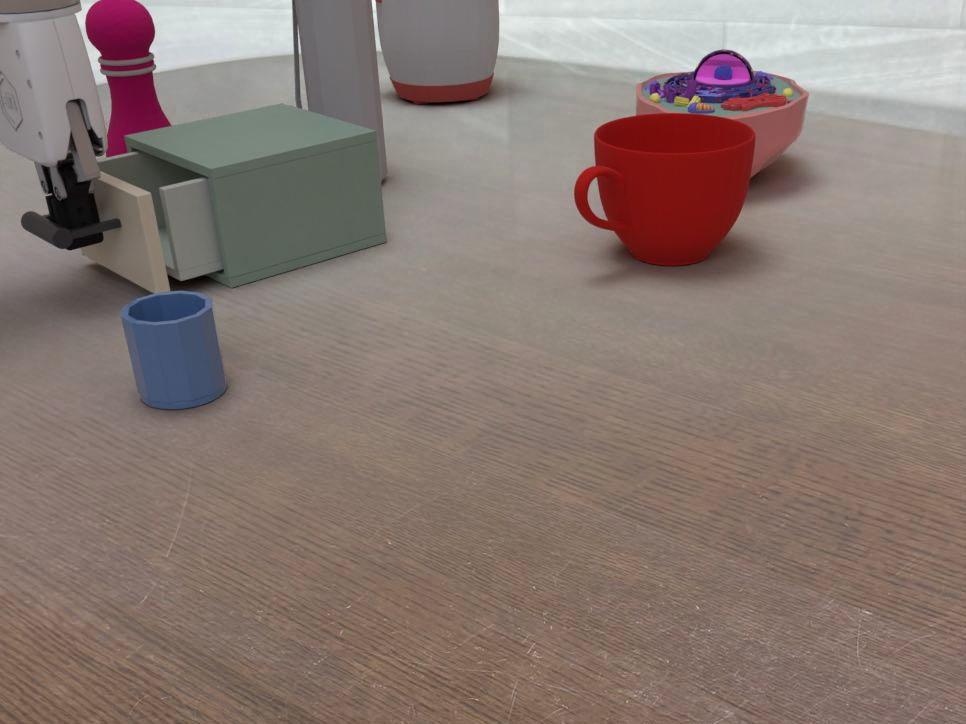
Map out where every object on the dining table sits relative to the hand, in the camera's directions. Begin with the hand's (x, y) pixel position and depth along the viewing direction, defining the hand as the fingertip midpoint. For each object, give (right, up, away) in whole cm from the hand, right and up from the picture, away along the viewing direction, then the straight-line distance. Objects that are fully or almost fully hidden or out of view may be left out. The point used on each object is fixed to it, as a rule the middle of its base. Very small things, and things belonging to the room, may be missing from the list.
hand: (81, 243), depth 95 cm
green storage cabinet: (+12, +3, +11) cm, 17 cm away
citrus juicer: (+23, +33, +59) cm, 71 cm away
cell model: (+54, +13, +26) cm, 61 cm away
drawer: (+5, 0, +6) cm, 8 cm away
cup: (+12, -13, -14) cm, 23 cm away
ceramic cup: (+46, 0, +6) cm, 46 cm away
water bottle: (+16, +13, +27) cm, 34 cm away
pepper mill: (-1, +10, +23) cm, 25 cm away
